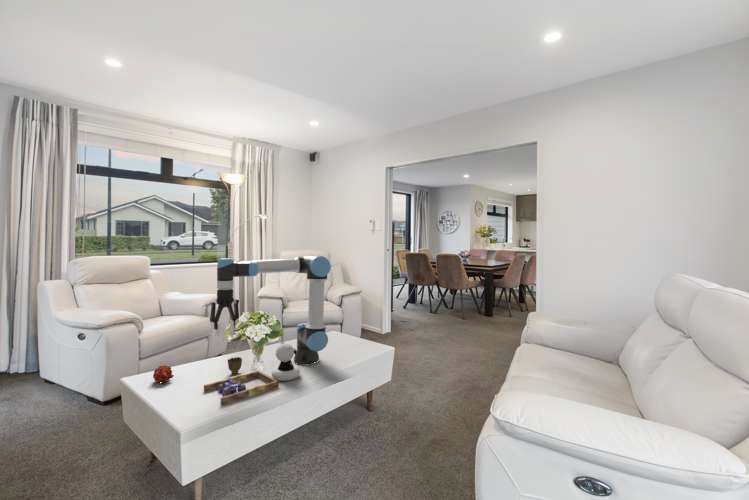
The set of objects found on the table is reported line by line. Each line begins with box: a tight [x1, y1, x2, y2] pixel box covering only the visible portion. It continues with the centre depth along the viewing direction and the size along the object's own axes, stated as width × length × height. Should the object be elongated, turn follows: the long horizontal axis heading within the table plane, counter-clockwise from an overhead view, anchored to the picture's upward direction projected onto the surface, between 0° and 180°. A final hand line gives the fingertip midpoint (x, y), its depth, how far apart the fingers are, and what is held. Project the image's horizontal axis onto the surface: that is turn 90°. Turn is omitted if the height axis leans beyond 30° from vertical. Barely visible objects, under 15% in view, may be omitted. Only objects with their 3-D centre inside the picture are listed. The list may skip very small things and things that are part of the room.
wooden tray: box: [203, 370, 280, 406], centre depth 170 cm, size 28×20×3 cm
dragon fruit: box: [152, 365, 175, 385], centre depth 178 cm, size 8×8×12 cm
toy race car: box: [217, 380, 247, 397], centre depth 167 cm, size 10×15×6 cm, turn 42°
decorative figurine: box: [271, 338, 301, 382], centre depth 187 cm, size 15×15×20 cm
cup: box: [227, 356, 243, 375], centre depth 191 cm, size 8×7×8 cm
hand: (224, 334), depth 177 cm, fingers open, 6 cm apart
